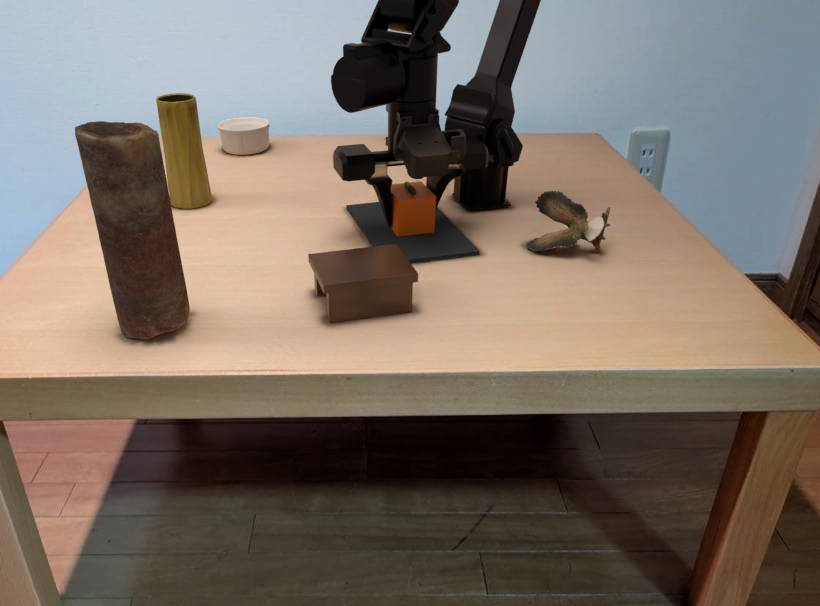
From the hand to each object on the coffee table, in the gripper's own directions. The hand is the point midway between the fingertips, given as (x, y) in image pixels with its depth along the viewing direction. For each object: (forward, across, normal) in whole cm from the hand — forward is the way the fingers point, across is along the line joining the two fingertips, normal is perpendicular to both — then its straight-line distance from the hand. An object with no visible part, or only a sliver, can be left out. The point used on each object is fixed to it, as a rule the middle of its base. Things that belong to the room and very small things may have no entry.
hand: (409, 223), depth 96 cm
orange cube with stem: (0, 0, 0) cm, 0 cm away
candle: (+1, -33, -17) cm, 37 cm away
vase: (+1, -27, +19) cm, 33 cm away
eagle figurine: (+1, +17, -11) cm, 20 cm away
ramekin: (+1, -16, +43) cm, 46 cm away
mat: (+1, 0, 0) cm, 1 cm away
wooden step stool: (+1, -11, -18) cm, 21 cm away
